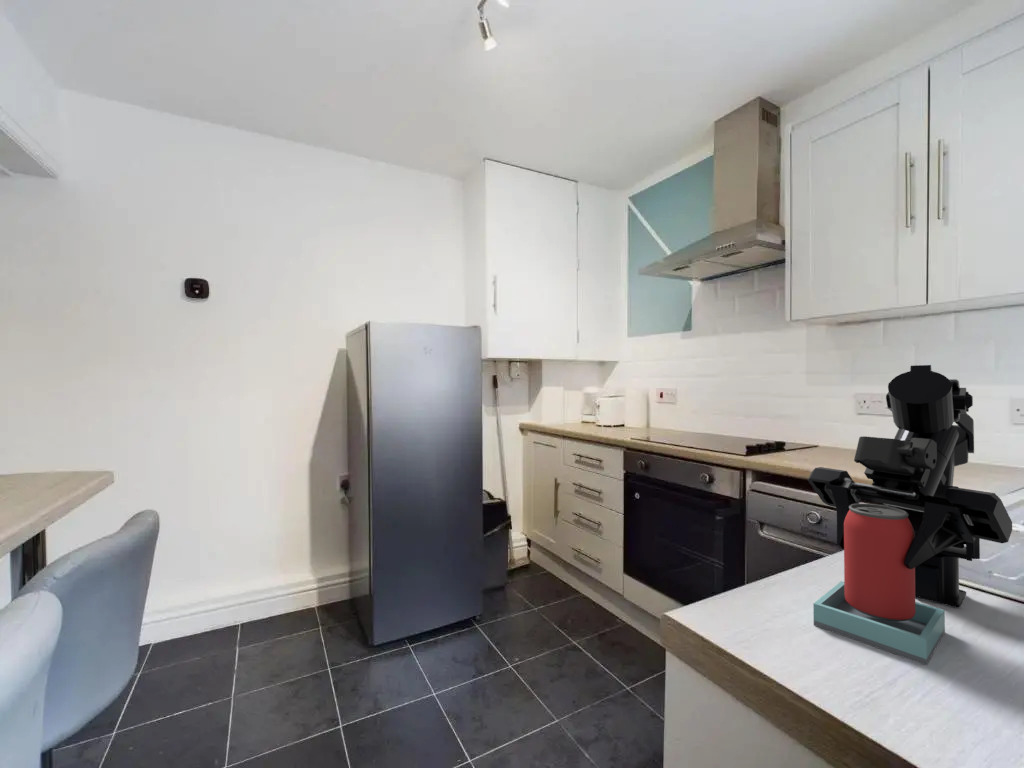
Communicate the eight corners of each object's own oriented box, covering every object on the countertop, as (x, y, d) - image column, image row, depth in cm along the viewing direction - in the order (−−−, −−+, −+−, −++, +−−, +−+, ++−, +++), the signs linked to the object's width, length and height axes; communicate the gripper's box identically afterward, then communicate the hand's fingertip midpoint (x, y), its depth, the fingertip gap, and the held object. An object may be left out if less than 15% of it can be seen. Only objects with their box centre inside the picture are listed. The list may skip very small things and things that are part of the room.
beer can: (846, 591, 59) (845, 499, 59) (913, 607, 55) (912, 507, 55) (842, 612, 54) (841, 510, 54) (917, 630, 50) (916, 521, 50)
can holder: (841, 600, 61) (841, 581, 61) (944, 632, 53) (944, 610, 53) (813, 625, 55) (813, 603, 55) (926, 665, 47) (926, 639, 47)
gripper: (814, 409, 64) (765, 496, 59) (999, 417, 48) (952, 539, 43) (847, 460, 68) (802, 546, 63) (1030, 484, 51) (989, 604, 46)
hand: (871, 556), depth 54 cm, fingers closed on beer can, 6 cm apart
